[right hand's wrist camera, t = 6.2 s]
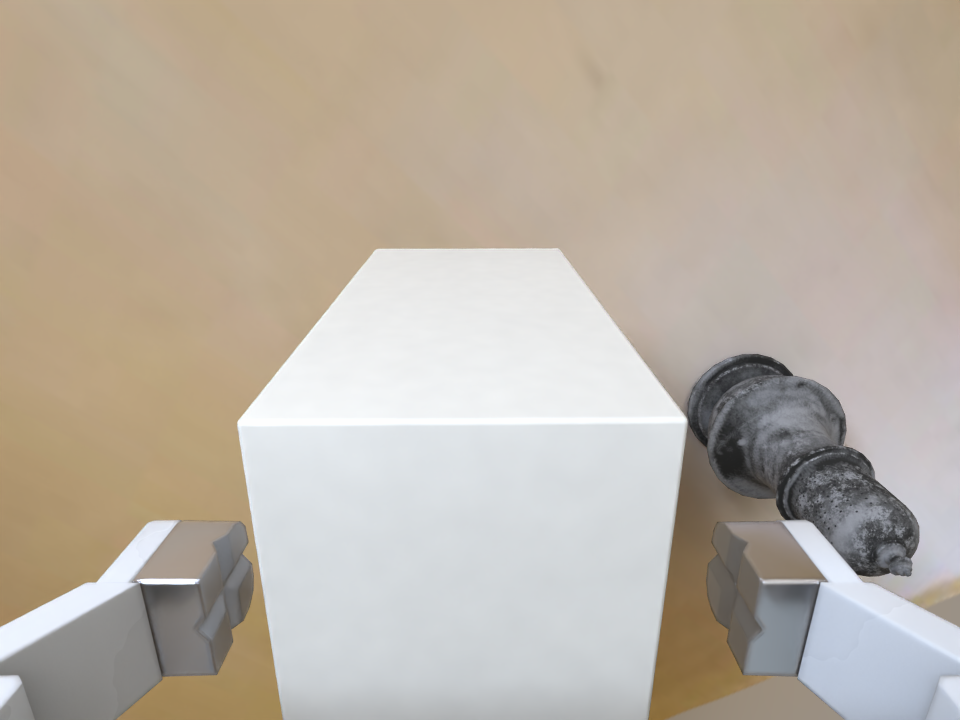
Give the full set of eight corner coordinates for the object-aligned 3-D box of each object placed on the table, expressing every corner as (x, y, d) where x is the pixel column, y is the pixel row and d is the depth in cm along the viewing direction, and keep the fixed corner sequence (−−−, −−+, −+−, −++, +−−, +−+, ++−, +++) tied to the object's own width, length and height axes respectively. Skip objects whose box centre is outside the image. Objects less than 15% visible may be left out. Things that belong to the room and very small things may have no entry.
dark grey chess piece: (829, 392, 29) (1052, 556, 18) (742, 479, 31) (897, 678, 20) (742, 323, 28) (924, 453, 17) (656, 417, 30) (768, 593, 18)
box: (375, 248, 20) (234, 421, 8) (560, 247, 20) (691, 418, 8) (407, 790, 29) (363, 1248, 17) (534, 788, 29) (580, 1243, 17)
